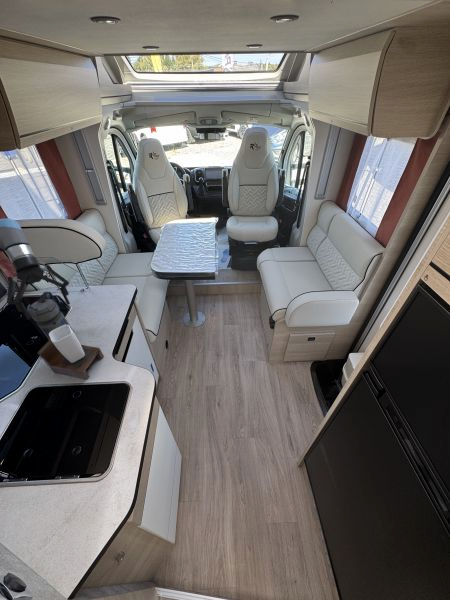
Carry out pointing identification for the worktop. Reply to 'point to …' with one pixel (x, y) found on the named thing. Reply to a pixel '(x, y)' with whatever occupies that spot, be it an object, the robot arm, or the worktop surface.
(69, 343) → the cup
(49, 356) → the shelf
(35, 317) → the beverage bottle
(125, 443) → the worktop surface
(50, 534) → the worktop surface
